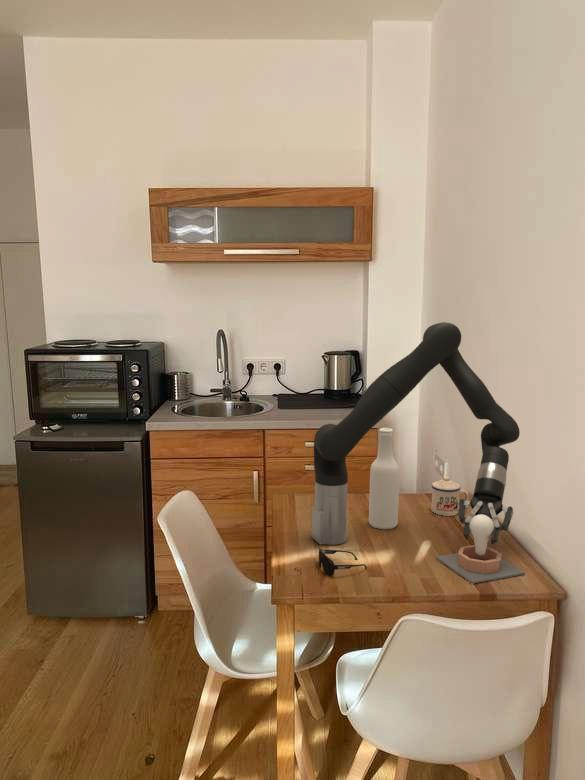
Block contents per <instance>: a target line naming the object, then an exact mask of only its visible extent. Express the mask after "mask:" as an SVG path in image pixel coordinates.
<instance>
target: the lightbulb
mask: <svg viewBox="0 0 585 780" xmlns="http://www.w3.org/2000/svg"><path fill="white" fill-rule="evenodd" d="M469 527H470V534H471V535H472V536H473V541H474V544H473V545H475V553H476V554H478V555H479V556H482V555H484V554H485V552H486V547H488V542H489V540H490V538H491V537H492V532H493V530H494V524H493V521H492V519H490V518H489V517H488V516H486V515H482V514H480V515H476V516H474V517H473V518H472V519H471V521H470V525H469Z"/></svg>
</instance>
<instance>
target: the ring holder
mask: <svg viewBox="0 0 585 780" xmlns="http://www.w3.org/2000/svg"><path fill="white" fill-rule="evenodd" d="M502 555H503V554H502V553H501V552H499V551H497V549H494V548H493V547H489V546H487V547H486V552H485V554H484V555H482V556H479V555H478V554H476V553H475V544H472V545H466V546H460V548H459V550H458V553H456V552H455V553H450V554H449V553H448V554H444V555H439V556H438V555H437V556H435V560H436V559H437V561H438V560H439V561H440V563H441V562H442V563H443V564H442V563H441V564H442V565H444V564H445V565H446V566H445V565H444V566H445V567H447V566H448V567H449V568H450V569H449V568H448V567H447V568H448V569H449V570H451V569H452V570H453V571H452V570H451V571H452V572H454V571H455V572H456V573H455V572H454V573H455V574H457V573H458V574H459V575H461V576H462V577H464V578H465V579H467V580H468V581H470V582H471V583H478V584H480V583H479V582H483V583H485V582H484V581H489V582H491V581H490V580H494V581H498V580H497V579H499V580H503V579H502V578H505V579H509V578H508V577H510V578H514V577H513V576H516V577H519V576H518V575H521V576H524V575H523V574H525V575H526V572H525V571H523V569H522V570H521V569H520V568H519V567H516V566H515V565H513V564H512V563H510V562H508V561H506V560H505V559H503V558H502ZM439 561H438V562H439ZM458 574H457V575H458ZM459 575H458V576H459ZM461 576H460V577H461ZM462 577H461V578H462ZM464 578H463V579H464ZM465 579H464V580H465ZM467 580H466V581H467ZM468 581H467V582H468ZM471 583H470V584H471Z"/></svg>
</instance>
